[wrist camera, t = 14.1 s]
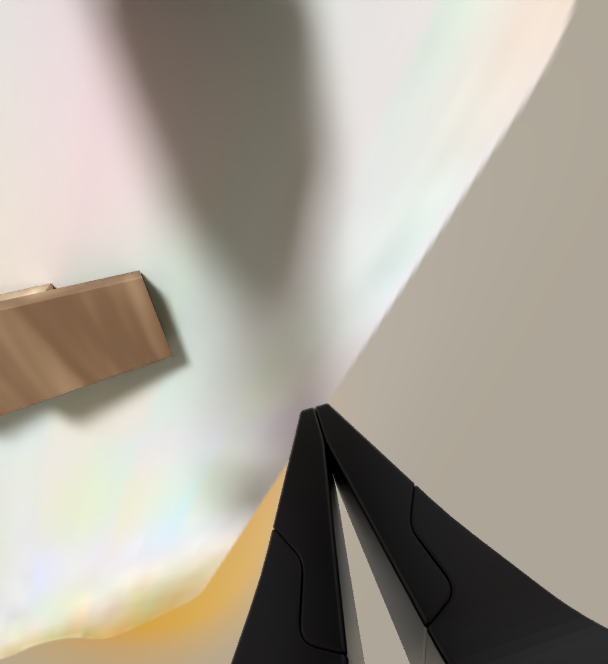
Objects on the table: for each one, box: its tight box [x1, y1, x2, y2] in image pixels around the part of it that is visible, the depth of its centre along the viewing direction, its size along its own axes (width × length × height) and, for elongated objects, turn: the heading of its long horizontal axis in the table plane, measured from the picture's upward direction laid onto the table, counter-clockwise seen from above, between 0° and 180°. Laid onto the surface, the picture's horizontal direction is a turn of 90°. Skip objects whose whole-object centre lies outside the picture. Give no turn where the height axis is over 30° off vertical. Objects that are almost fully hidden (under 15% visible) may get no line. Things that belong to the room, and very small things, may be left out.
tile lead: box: [0, 271, 173, 416], centre depth 15 cm, size 2×5×10 cm
